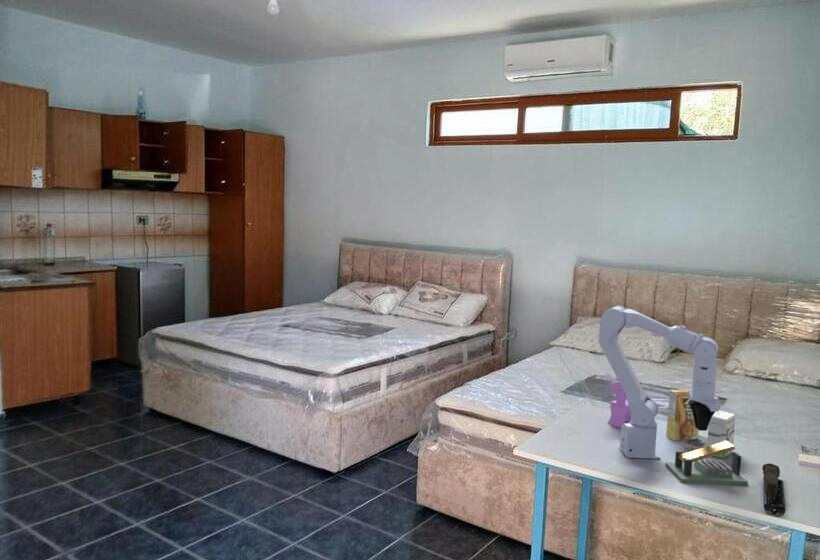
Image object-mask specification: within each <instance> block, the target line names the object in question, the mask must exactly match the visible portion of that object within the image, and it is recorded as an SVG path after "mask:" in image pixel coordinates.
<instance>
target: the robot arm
mask: <svg viewBox="0 0 820 560" xmlns="http://www.w3.org/2000/svg"><path fill="white" fill-rule="evenodd" d="M636 327H637V328H640V329H643V330H645V331H648V332H651V333H652V334H655V335H658V336H661V337H662V338H665V340H666V342H667V344H668V345H670V346H672V347H675V348H677V349H679V350H681V351H684V352H685V353H688V354H693V355H694V363H693V366H692V367H693V368H692V370H693V371H692V384H691V389H692V390H688V397H691V399H692V400H694V402H689V406H690V408H691V410H692V413H693V417H694V423H695V427H696V428H698V430H699V432H701V431H705V432H707V431H708V428H709V422H710V420H711V418H712V416H713V414H714V413H715V412H719V410H720V404H719V403H718V402H717V401H719V399H720V398H719V397H718V396H715V395H716V394H715V393H716V380H717V378H716V377H717V365H716V364H717V356H718V351H719V346H718V344H717V341H715V340H714V339H713V338H711V337H710V336H704V334H702V333H699V334H698V333H696V332H693V331H692V330H691V331H690V330H688V329H687V327H686V326H685V325H683V324H681V326H679V325H674V326H669V325H666V324H664V323H661V322H660V321H658V320H655V319H653V318H651V317H649V316H647V315H645V314H643V313H641V312H639V311H636V310H634V309H632V308H631V309H630V308H626V307H625V306H623V305H615V306H612V307H611V308H609V309H607V310H605V311H604V312H603V313H602V316H601V318H600V319H599V330H598V331H599V332H598V343H599V346H600V347H601V349H602V351H603V354H604V355H605V357H606V359H607V361H608V362H609V365H610V367H611V369H612V371H613V372H614V375H615V377H616V379H617V381H619V383H620V384H621V386H622V388H623V390H624V392H625V394H626V396H627V398H626V400H627V402H628V406H629V408H630V411H631V422H627V423H625V422H624V424H622V427H621V428H620V439H619V446H618V448H619V449H620V451H621V452H622V453H623V454H624V455H625V456H626V458H629V459H631V458H632V459H654V460H655V459H661V456H660V455H659V454H658V453H657V452H656V445H657V444H656V443H657V433H658V432H657V431H658V430H657V429H658V424H657V422H656V420H655V418H656V416H657V415H658V413H659V407H658V405H657V403H656V402H655V401H654V399H652V398H651V397H650V396H649V394H648V392H647V391H646V390H644V388H643V386H642V385H641V383H640V380H639V379H638V378H637V376H636V375H637V374H635V371H634V370H633V368H632V366H631V364H630V361H629V360H628V358H627V357H626V354H625V352H624V351H623V347H622V346H621V344H620V343H619V341H618V340H619V337H620V335H621V332H622V330H623V329H624V328H626V329H628V328H636Z"/></svg>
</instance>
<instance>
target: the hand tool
mask: <svg viewBox="0 0 820 560" xmlns="http://www.w3.org/2000/svg"><path fill="white" fill-rule="evenodd" d="M762 474H763V478H764V495H765V494H766V496H767V497H768V498H769V500H770V501H772V500H774V498H775V497H776V495H777V494H778V490H779V489H778V488H779V478H780V477H781V476H780V474H781V470H780V467H779V466H778V465H776V464H773V463H770V462H769V463H765V464H763V465H762ZM766 496H765V497H766ZM777 496H778V495H777ZM776 498H777V497H776ZM776 498H775V499H776ZM774 501H775V500H774Z"/></svg>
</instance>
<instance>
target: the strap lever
mask: <svg viewBox="0 0 820 560" xmlns="http://www.w3.org/2000/svg"><path fill="white" fill-rule="evenodd" d="M732 450H733V451H735V450H736V448H735V445H734V444H733V445H732V444H731V443H729V442H728V441H724V442H720V443H717V444H714V445H710V446H707V445H706V446H704V447H701V448H698V449H694V450H691V451H688V452H685V453H684V452H683V454H679V455H678V458H679V459H680V460H681V461H682V462H683V463H684V459H691V460H692V463H695V461H701V460H702V459H704V460H706V459H710V458H712V457H716V456H715V455H718V454H722V453H725V452H728V451H732ZM733 451H732V452H733Z"/></svg>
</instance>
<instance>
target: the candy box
mask: <svg viewBox="0 0 820 560" xmlns="http://www.w3.org/2000/svg"><path fill="white" fill-rule="evenodd" d="M688 390H692V388H688V389H687V388H686V389H685V388H684V389H670V390H669V394H668V395H669V396H668V407H667V408H668V410H667V411H668V412H667V422H666V423H667V424H666V433H665V435H666V437H667V438H669V439H670V440H673V441H683V440H684V441H685V440H693V439H692V438H694V437H697V436H698V437H699V432H700V430H698V428H696V427H695V423H694V417H693V413H692V410H691V408H690V406H689V402H694V400H692V399H691V397H688Z"/></svg>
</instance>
